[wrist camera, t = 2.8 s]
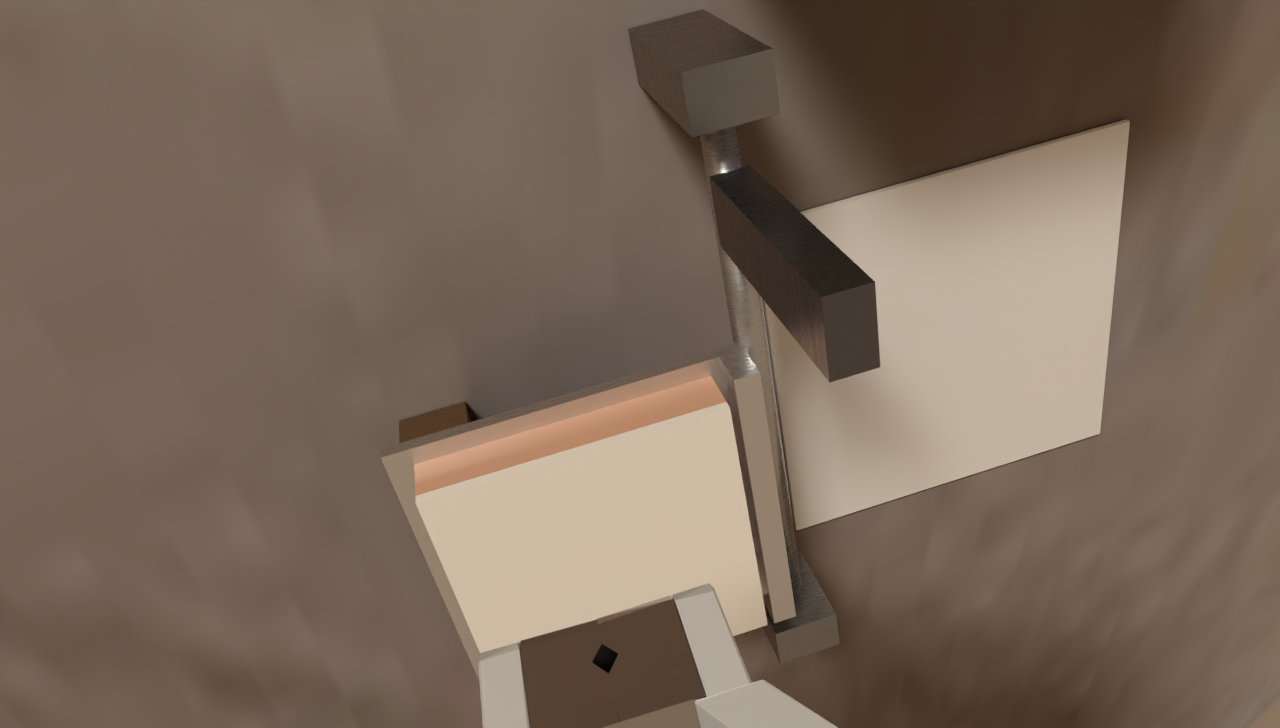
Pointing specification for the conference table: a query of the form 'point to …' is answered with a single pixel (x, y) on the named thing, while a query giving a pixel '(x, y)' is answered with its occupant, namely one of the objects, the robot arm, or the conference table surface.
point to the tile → (595, 517)
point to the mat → (961, 325)
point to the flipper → (714, 365)
